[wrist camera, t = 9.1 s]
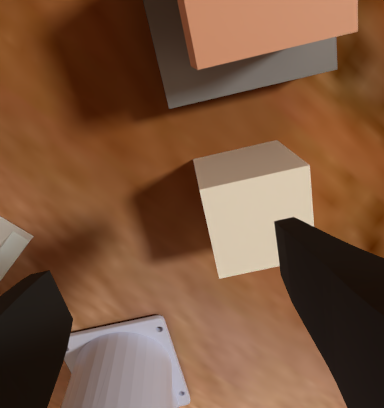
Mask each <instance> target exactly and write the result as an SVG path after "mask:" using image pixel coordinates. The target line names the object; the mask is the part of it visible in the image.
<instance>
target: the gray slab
mask: <svg viewBox="0 0 384 408" xmlns="http://www.w3.org/2000/svg"><path fill="white" fill-rule="evenodd" d="M143 3H144V7H145V11H146V15H147V19H148V24H149V28H150V32H151V36H152V40H153V44H154V48H155V52H156V57H157V61H158V65H159V69H160V73H161V77H162V81H163V86H164V90H165V94H166V98H167V102H168V106H169V109H171V108H176V107H180V106H184V105H188V104H192V103H197V102H201V101H205V100H209V99H214V98H218V97H222V96H226V95H231V94H235V93H239V92H243V91H248V90H252V89H256V88H260V87H264V86H269V85H273V84H277V83H281V82H286V81H290V80H294V79H298V78H303V77H307V76H311V75H315V74H320V73H324V72H328V71H332V70H336V69H337V48H336V37H332V38H328V39H324V40H320V41H316V42H312V43H308V44H303V45H299V46H295V47H291V48H287V49H283V50H279V51H274V52H270V53H266V54H262V55H258V56H254V57H250V58H245V59H241V60H237V61H233V62H229V63H225V64H221V65H216V66H212V67H208V68H204V69H200V70H197V69H195V68H193V67H191V65H190V60H189V55H188V50H187V45H186V41H185V36H184V31H183V26H182V21H181V16H180V11H179V7H178V2H177V0H143Z"/></svg>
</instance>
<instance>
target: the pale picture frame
mask: <svg viewBox="0 0 384 408" xmlns="http://www.w3.org/2000/svg"><path fill="white" fill-rule="evenodd" d="M32 238H33V236H32V235H31V234H29V233H27V232H26V231H24V230H22V229H21V228H19V227H17V226H16V225H14V224H12V223H11V222H9V221H7V220H6V219H4V218H2V217H0V281H1V280H2V278H3V277H4V276H5V274H6V273H7V271H8V270H9V269H10V267H11V266H12V265H13V263H14V262H15V261H16V259H17V258H18V257H19V255H20V254H21V252H22V251H23V250H24V248H25V247H26V246H27V244H28V243H29V242H30V240H31V239H32Z"/></svg>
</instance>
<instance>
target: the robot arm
mask: <svg viewBox="0 0 384 408" xmlns="http://www.w3.org/2000/svg"><path fill="white" fill-rule="evenodd" d="M274 225H275V233H276V241H277V248H278V256H279V264H280V272H281V276H282V279H283V281H284V284H285V286H286V289H287V291H288V294H289V296H290V299H291V301H292V303H293V305H294V307H295V309H296V310H297V312H298V314H299V316H300V318H301V319H302V321H303V323H304V325H305V327H306V328H307V330H308V332H309V334H310V335H311V337H312V339H313V341H314V342H315V344H316V346H317V348H318V350H319V351H320V353H321V355H322V357H323V358H324V360H325V362H326V364H327V365H328V367H329V369H330V371H331V373H332V375H333V377H334V379H335V381H336V383H337V385H338V388H339V390H340V392H341V394H342V396H343V399H344V401H345V403H346V405H347V408H384V258H382V257H379V256H377V255H374V254H372V253H369V252H367V251H364V250H362V249H359V248H357V247H355V246H353V245H350V244H348V243H346V242H344V241H342V240H339V239H337V238H335V237H333V236H331V235H329V234H327V233H325V232H323V231H321V230H319V229H317V228H315V227H313V226H311V225H309V224H307V223H305V222H303V221H301V220H299V219H297V218H295V217H291V218H287V219H282V220H277V221H274ZM72 322H73V318H72V316H71V314H70V312H69V310H68V308H67V306H66V304H65V302H64V299H63V297H62V295H61V293H60V291H59V289H58V287H57V285H56V283H55V281H54V279H53V277H52V275H51V273H50V270H49V271H44V272H40V273H35V274H31V275H29V276H28V277H26V278H24V279H23V280H21V281H20V282H19V283H17V284H16V285H15V286H13V287H12V288H11V289H9V290H8V291H7V292H5V293H4V294H3V295H2V296H0V408H47V406H48V404H49V401H50V398H51V395H52V392H53V389H54V386H55V384H56V381H57V378H58V375H59V372H60V369H61V366H62V363H63V360H64V361H65V362H66V364H67V366H68V368H69V370H70V372H71V377H70V381H69V384H68V387H67V390H66V393H65V396H64V399H63V402H62V406H61V408H179V406H184V405H187V404H189V403H190V395H189V392H188V389H187V385H186V382H185V379H184V376H183V373H182V370H181V367H180V364H179V361H178V358H177V355H176V352H175V349H174V346H173V343H172V340H171V337H170V334H169V331H168V328H167V325H166V322H165V319H164V317H162V316H160V315H155V316H151V317H146V318H141V319H136V320H132V321H127V322H122V323H117V324H113V325H108V326H103V327H98V328H94V329H89V330H84V331H79V332H75V333H71V327H72ZM158 327H162V328H158Z"/></svg>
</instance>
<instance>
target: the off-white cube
mask: <svg viewBox="0 0 384 408" xmlns="http://www.w3.org/2000/svg"><path fill="white" fill-rule="evenodd" d="M193 162H194V167H195V171H196V176H197V181H198V186H199V191H200V195H201V199H202V204H203V208H204V213H205V217H206V222H207V226H208V231H209V235H210V240H211V244H212V248H213V253H214V257H215V262H216V266H217V271H218V275H219V279H220V278H225V277H230V276H234V275H239V274H244V273H249V272H253V271H258V270H263V269H267V268H272V267H277V266H280V264H279V256H278V248H277V241H276V233H275V225H274V221H277V220H282V219H287V218H291V217H295V218H297V219H299V220H301V221H303V222H305V223H307V224H309V225H311V226H313V227H314V219H313V205H312V191H311V178H310V165H309V164H307V163H306V162H305V161H304V160H302V159H301V158H300V157H298V156H297V155H296V154H294V153H293V152H292V151H291V150H289V149H288V148H287V147H285V146H284V145H283V144H281V143H280V142H279V141H278V140H276V141H271V142H267V143H262V144H258V145H254V146H249V147H245V148H240V149H236V150H232V151H227V152H223V153H218V154H214V155H210V156H205V157H201V158H197V159H193Z"/></svg>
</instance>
